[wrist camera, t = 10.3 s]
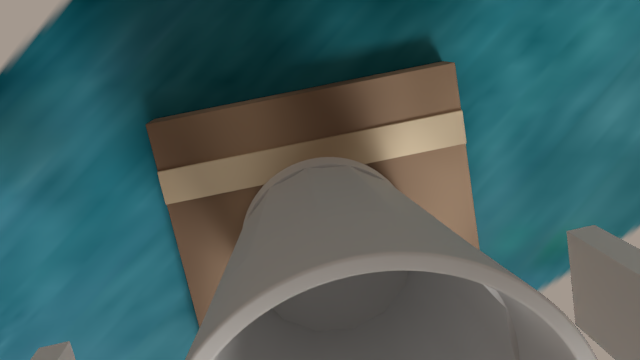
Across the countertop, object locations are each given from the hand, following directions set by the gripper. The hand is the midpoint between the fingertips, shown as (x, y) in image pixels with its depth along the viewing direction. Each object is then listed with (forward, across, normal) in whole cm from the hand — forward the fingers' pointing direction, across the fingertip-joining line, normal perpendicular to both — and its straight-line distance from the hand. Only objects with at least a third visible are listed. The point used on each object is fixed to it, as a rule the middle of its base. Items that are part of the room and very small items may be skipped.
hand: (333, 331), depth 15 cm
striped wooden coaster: (+8, +1, 0) cm, 8 cm away
